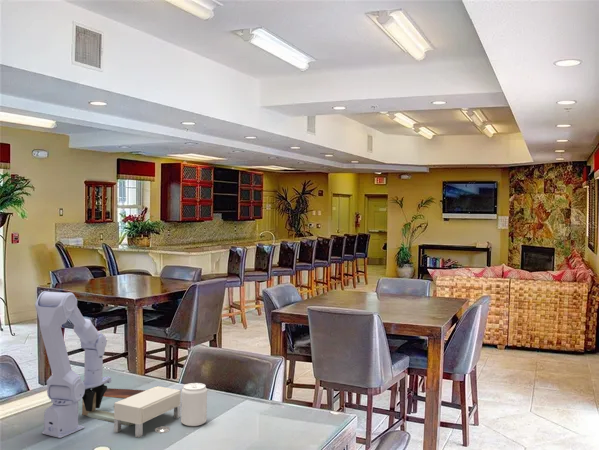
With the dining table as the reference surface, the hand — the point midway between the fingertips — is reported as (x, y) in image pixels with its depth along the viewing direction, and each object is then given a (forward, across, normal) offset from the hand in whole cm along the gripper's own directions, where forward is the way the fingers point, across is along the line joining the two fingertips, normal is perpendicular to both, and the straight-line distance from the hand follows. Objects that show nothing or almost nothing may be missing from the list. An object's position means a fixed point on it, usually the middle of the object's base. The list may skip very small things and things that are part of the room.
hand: (92, 409), depth 186 cm
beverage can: (+2, -10, +34) cm, 36 cm away
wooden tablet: (+3, -23, -5) cm, 23 cm away
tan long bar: (+2, 0, +7) cm, 8 cm away
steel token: (+2, 0, +29) cm, 29 cm away
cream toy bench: (+2, -2, +22) cm, 22 cm away
